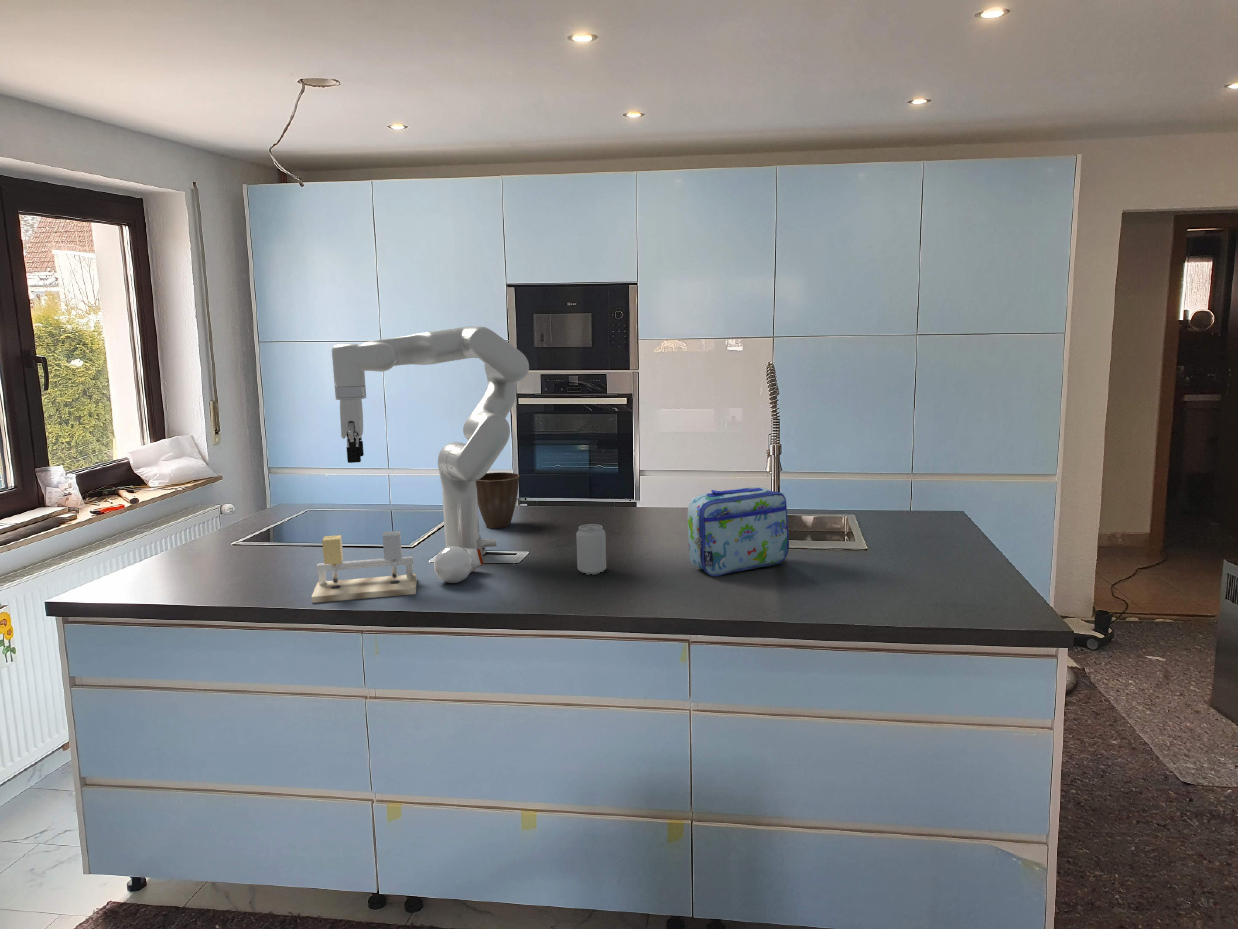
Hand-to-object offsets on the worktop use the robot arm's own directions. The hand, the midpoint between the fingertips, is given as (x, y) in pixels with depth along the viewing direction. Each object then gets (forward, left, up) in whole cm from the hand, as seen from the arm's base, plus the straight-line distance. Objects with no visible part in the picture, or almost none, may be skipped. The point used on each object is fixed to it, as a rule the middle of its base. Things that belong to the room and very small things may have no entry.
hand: (355, 459), depth 226 cm
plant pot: (-38, -41, -31) cm, 64 cm away
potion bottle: (-24, +13, -31) cm, 41 cm away
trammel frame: (-1, +15, -29) cm, 32 cm away
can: (-58, +16, -31) cm, 67 cm away
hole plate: (-1, +16, -30) cm, 34 cm away
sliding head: (+6, +15, -28) cm, 32 cm away
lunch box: (-95, +24, -31) cm, 103 cm away
